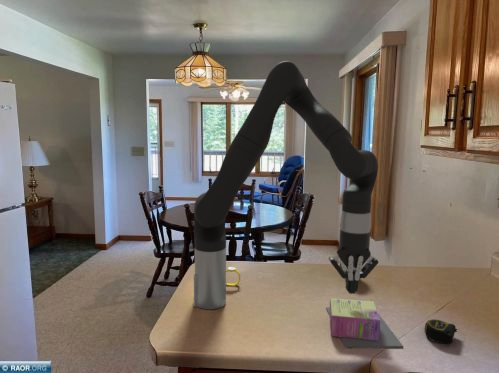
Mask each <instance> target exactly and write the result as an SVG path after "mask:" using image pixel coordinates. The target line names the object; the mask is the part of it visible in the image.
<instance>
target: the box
mask: <svg viewBox="0 0 499 373" xmlns="http://www.w3.org/2000/svg"><path fill="white" fill-rule="evenodd" d="M329 307H330V312H329V314H328V316H329V317H328V318H329V328H330V336H331V337H337V338H340V337H347V338H357V339H366V340H375V341H379V336H380V318H379V316H378V314H379V313H378V311H377V307H376V304H375V301H373V300H372V301H370V300H358V299H357V300H355V299H343V298H333V297H330V298H329Z"/></svg>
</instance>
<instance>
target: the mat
mask: <svg viewBox="0 0 499 373" xmlns="http://www.w3.org/2000/svg"><path fill="white" fill-rule="evenodd" d="M325 309H326V311H327V314H328V315H329V312H330V306H328V307H325ZM378 316H379V318H380V336H379V341H375V340H366V339H357V338H347V337H339V338H340V340H341V341H342V343H343V346H344V347H345V349H347V348H348V349H352V348H353V349H365V348H369V349H370V348H371V349H372V348H373V349H375V348H379V349H380V348H381V349H382V348H390V349H391V348H404V345H403V344H402V342H401V341H400V339H398V338H397V336H396V335H395V334H394V332H393V331H392V330H391V328H390V327H389V325H388V324H387V323H386V322H385V321H384V319H383V318H382V316H381V315H380V314H379V313H378Z"/></svg>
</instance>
